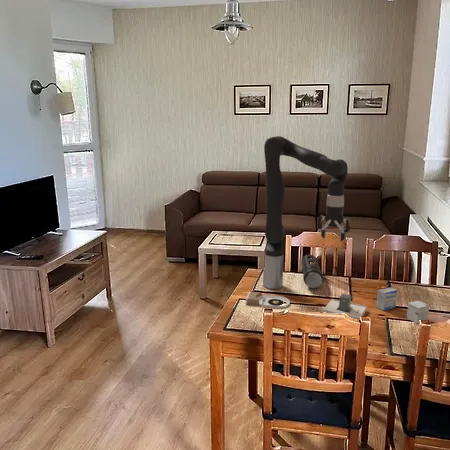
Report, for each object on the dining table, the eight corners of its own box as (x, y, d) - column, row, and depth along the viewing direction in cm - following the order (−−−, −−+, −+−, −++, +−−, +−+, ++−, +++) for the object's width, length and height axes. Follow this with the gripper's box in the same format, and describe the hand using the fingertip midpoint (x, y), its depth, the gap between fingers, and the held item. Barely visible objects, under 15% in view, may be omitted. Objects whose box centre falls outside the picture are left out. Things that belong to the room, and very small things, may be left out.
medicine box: (383, 311, 202) (385, 293, 200) (375, 307, 206) (377, 289, 203) (396, 307, 205) (397, 290, 203) (388, 304, 209) (390, 286, 207)
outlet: (321, 314, 198) (322, 310, 197) (331, 303, 210) (331, 298, 209) (358, 323, 190) (359, 318, 190) (366, 310, 202) (366, 306, 202)
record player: (249, 290, 218) (291, 294, 214) (249, 296, 219) (290, 300, 215) (245, 299, 207) (288, 304, 203) (245, 306, 208) (288, 310, 204)
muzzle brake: (317, 271, 251) (318, 254, 248) (322, 291, 224) (324, 271, 221) (300, 271, 252) (300, 253, 249) (303, 290, 225) (304, 271, 222)
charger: (338, 313, 199) (339, 296, 197) (341, 310, 203) (342, 293, 201) (347, 315, 197) (348, 298, 195) (349, 312, 201) (351, 295, 199)
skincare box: (406, 318, 195) (408, 302, 193) (416, 315, 198) (418, 300, 196) (417, 323, 190) (419, 307, 188) (427, 321, 192) (429, 305, 190)
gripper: (317, 204, 202) (315, 239, 206) (348, 207, 195) (346, 243, 199) (322, 201, 208) (320, 235, 212) (353, 204, 201) (350, 239, 205)
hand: (332, 239), depth 206 cm, fingers open, 8 cm apart
